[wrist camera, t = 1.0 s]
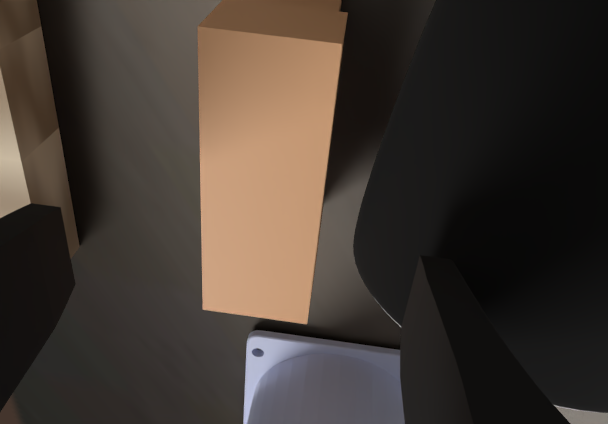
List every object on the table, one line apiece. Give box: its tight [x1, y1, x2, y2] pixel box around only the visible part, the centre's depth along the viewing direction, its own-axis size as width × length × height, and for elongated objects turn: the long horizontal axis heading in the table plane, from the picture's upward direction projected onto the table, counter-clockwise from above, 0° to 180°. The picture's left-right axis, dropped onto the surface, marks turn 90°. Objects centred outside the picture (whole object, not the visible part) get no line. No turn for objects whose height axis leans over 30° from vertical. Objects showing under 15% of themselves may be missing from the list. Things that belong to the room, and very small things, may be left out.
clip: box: [198, 0, 348, 324], centre depth 16 cm, size 8×3×6 cm, turn 175°
